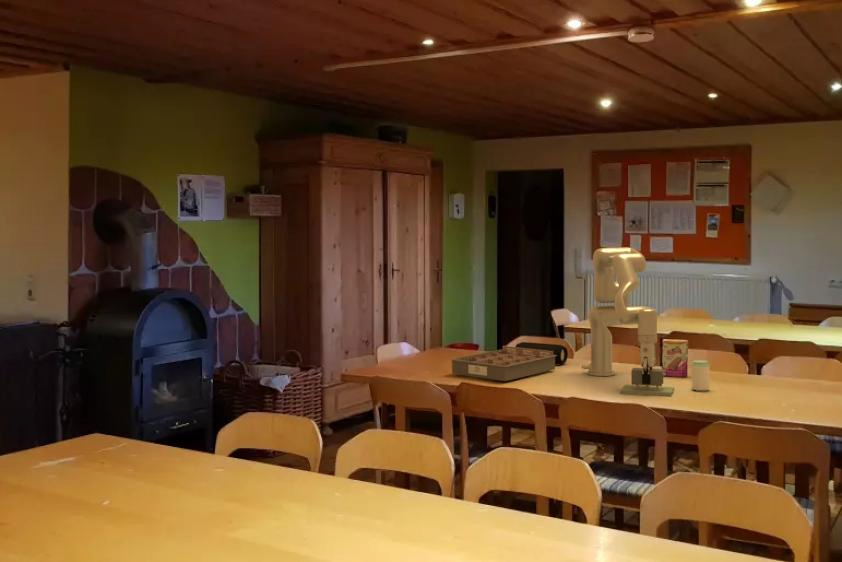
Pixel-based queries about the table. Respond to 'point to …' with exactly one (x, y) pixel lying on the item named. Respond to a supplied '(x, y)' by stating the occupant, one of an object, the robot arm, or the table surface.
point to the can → (700, 375)
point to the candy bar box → (675, 358)
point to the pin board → (647, 390)
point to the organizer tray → (505, 363)
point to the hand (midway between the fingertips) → (647, 381)
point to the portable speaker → (556, 349)
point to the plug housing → (655, 377)
